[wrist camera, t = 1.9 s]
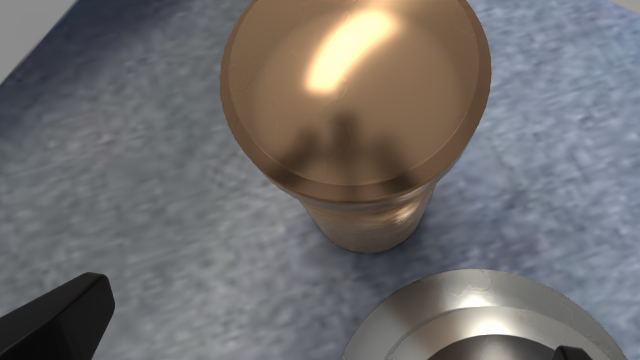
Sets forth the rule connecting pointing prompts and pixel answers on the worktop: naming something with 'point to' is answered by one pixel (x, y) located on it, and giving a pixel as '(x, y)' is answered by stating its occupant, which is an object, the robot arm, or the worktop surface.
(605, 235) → the worktop surface
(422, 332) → the ring
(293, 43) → the copper capped cylinder
